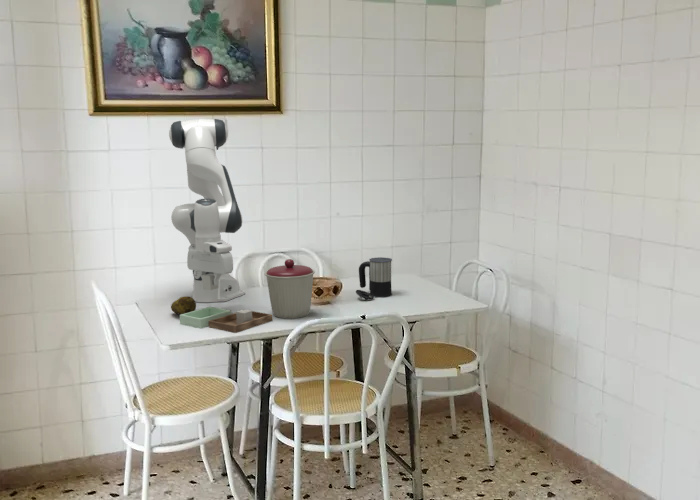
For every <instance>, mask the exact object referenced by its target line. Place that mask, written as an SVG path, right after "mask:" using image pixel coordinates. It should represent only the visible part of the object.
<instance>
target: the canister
mask: <svg viewBox="0 0 700 500" xmlns="http://www.w3.org/2000/svg"><path fill="white" fill-rule="evenodd" d="M315 273H316V271H315V269H313V268H312V267H310V266H306V265H302V264H295V260H294V259H291V258H288V259H286V260H285V261H284V265H279V266H278V265H277V266H273V267H271V268H268V270H266V271H264V276H266V281H267V288H268V294H269V295H268V296H269V301H270V306H271V311H272V315H273V316H274V317H275V318H279V319H289V320H290V319H300V318H303V317H307V316H309V314H310V311H311V306H312V295H313V282H314V274H315Z"/></svg>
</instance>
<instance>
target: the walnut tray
mask: <svg viewBox="0 0 700 500" xmlns="http://www.w3.org/2000/svg"><path fill="white" fill-rule="evenodd" d="M249 311H252V320H251V321H248V322H245V323H242V324H238V325H237V318H236V312H234V313H231V314H230V315H227V316H223V317H220V318H217V319H213V320H210V321H208V322H209V326H208V328H210V329H214V330H219V331H224V332H230V333H233V334H237V333H240V332H243V331H246V330H249V329H253V328H255V327H258V326H261V325H264V324H268V323H271V322H273V320H274V318H273V314H271V313H265V312H259V311H255V310H250V309H249Z"/></svg>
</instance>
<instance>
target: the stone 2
mask: <svg viewBox="0 0 700 500" xmlns="http://www.w3.org/2000/svg"><path fill="white" fill-rule="evenodd" d="M249 310H250V309H249ZM249 310H248V309H242V310H237V311H235V313H236V318H237V325H238V324H242V323H245V322H248V321H251V320H252V311H253V310H250V311H249Z"/></svg>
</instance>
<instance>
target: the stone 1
mask: <svg viewBox="0 0 700 500" xmlns="http://www.w3.org/2000/svg"><path fill="white" fill-rule="evenodd" d="M202 277H203V289H206V290H213V289H217V288H219V286H218V285H213V284H212V283H213V282H212V280H214V278H215V276H214V274H212V273H210V274H205V275H202Z"/></svg>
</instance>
